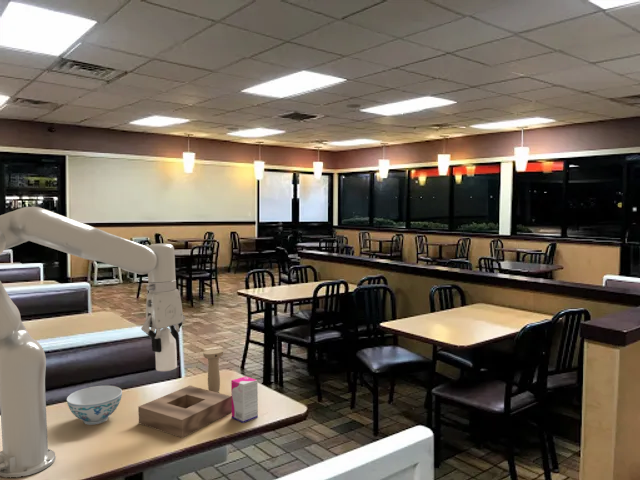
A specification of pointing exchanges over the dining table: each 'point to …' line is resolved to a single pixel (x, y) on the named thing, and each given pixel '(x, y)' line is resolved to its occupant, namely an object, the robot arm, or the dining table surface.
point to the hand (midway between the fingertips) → (165, 347)
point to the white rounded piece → (166, 352)
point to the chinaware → (94, 403)
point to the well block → (185, 410)
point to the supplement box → (244, 399)
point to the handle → (213, 369)
